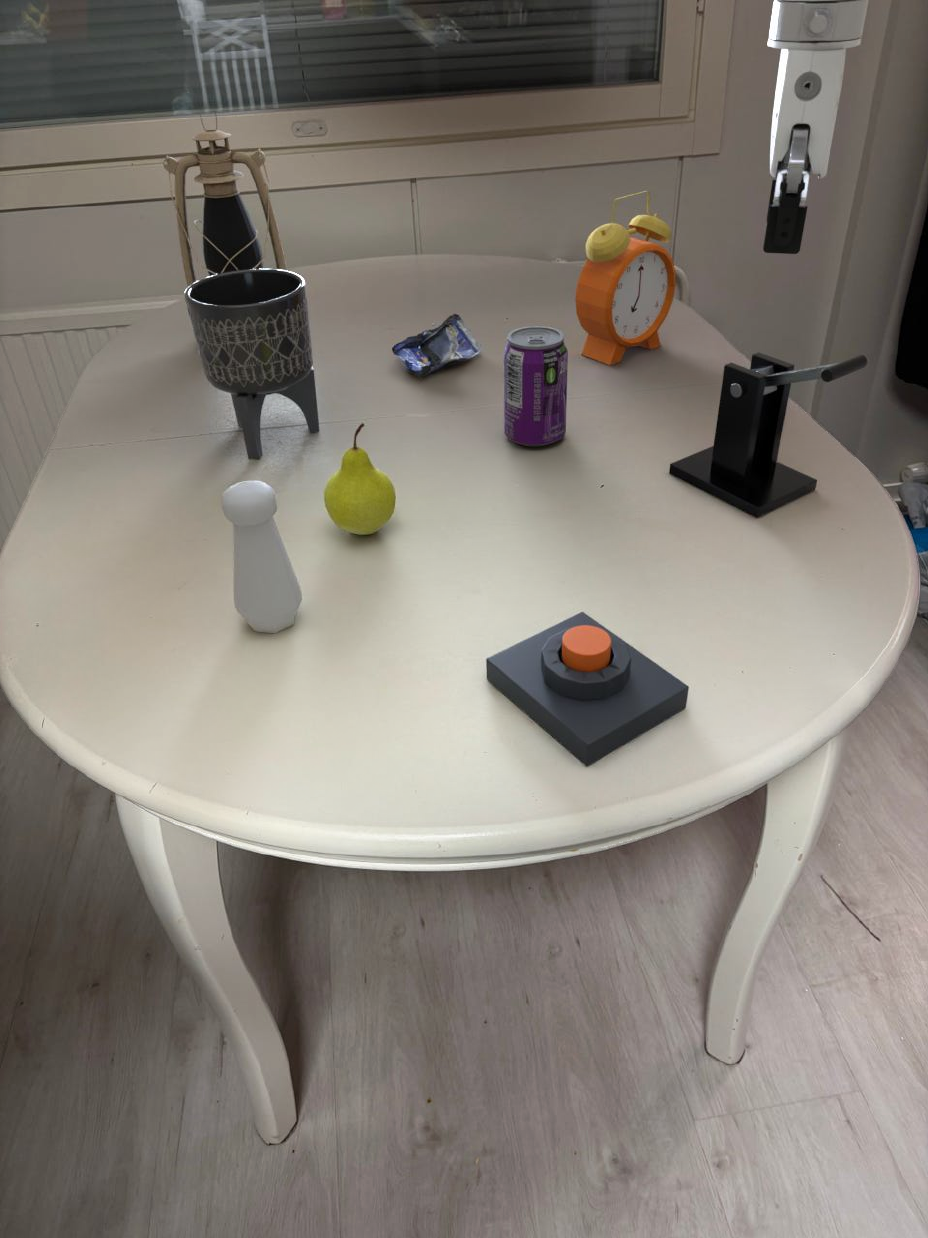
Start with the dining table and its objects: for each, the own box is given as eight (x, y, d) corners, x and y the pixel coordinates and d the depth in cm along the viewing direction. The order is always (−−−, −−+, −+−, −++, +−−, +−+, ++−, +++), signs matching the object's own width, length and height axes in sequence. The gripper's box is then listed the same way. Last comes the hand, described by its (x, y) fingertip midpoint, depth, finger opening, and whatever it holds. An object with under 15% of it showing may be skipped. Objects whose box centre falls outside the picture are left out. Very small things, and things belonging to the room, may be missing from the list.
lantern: (194, 351, 134) (143, 117, 116) (201, 323, 143) (154, 103, 125) (296, 341, 135) (260, 109, 117) (295, 314, 144) (262, 96, 126)
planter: (305, 466, 104) (280, 308, 93) (198, 459, 106) (162, 304, 96) (340, 416, 114) (321, 269, 103) (241, 411, 116) (213, 266, 106)
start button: (619, 660, 69) (621, 642, 68) (583, 679, 68) (584, 661, 67) (587, 637, 72) (588, 619, 71) (552, 655, 70) (552, 637, 69)
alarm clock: (604, 369, 122) (613, 209, 110) (572, 357, 126) (577, 200, 114) (671, 343, 129) (687, 189, 117) (638, 332, 133) (650, 181, 121)
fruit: (316, 527, 93) (299, 416, 86) (373, 504, 96) (361, 396, 89) (353, 555, 89) (337, 441, 82) (411, 531, 92) (401, 419, 85)
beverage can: (567, 450, 105) (571, 346, 97) (504, 452, 105) (503, 349, 98) (563, 422, 110) (565, 323, 103) (503, 424, 110) (502, 325, 103)
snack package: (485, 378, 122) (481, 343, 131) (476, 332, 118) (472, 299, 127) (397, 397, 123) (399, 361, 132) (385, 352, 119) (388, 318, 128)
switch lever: (869, 373, 83) (865, 346, 82) (834, 388, 81) (829, 360, 80) (764, 389, 93) (760, 365, 93) (730, 402, 91) (725, 378, 90)
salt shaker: (249, 647, 78) (219, 514, 70) (231, 612, 82) (200, 483, 74) (315, 626, 80) (292, 494, 72) (293, 593, 84) (270, 465, 76)
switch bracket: (815, 490, 95) (841, 371, 88) (756, 518, 91) (778, 396, 84) (726, 449, 103) (742, 336, 96) (668, 473, 99) (680, 358, 92)
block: (686, 708, 70) (692, 668, 68) (586, 767, 66) (589, 726, 63) (581, 631, 78) (583, 593, 76) (486, 679, 74) (485, 640, 71)
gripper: (869, 35, 70) (824, 266, 81) (859, 13, 83) (822, 215, 94) (766, 36, 72) (736, 262, 82) (772, 15, 85) (745, 212, 96)
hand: (781, 237), depth 88 cm, fingers open, 9 cm apart
